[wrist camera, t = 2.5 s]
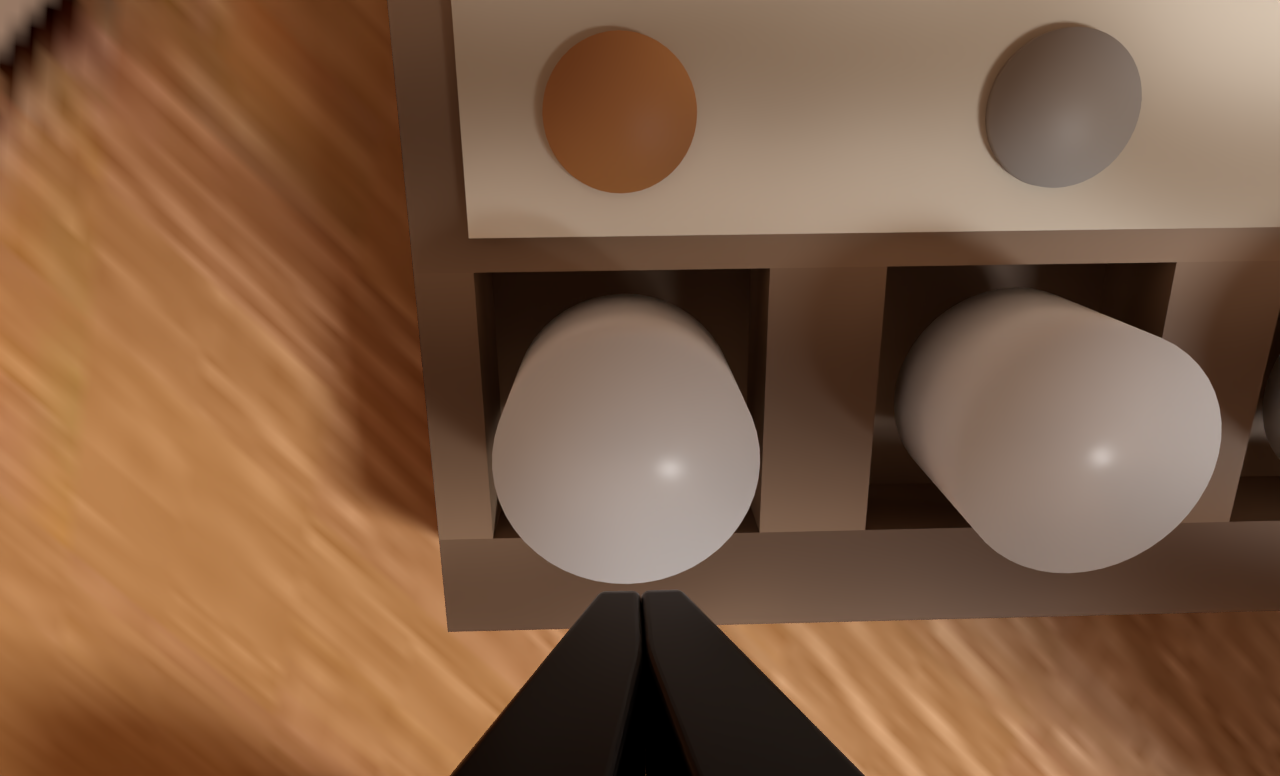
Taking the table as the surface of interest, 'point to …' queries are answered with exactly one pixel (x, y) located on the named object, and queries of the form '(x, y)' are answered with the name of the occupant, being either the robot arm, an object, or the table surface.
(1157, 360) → the button middle
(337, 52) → the table surface
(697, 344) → the button
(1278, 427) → the button
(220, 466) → the table surface
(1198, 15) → the button board
